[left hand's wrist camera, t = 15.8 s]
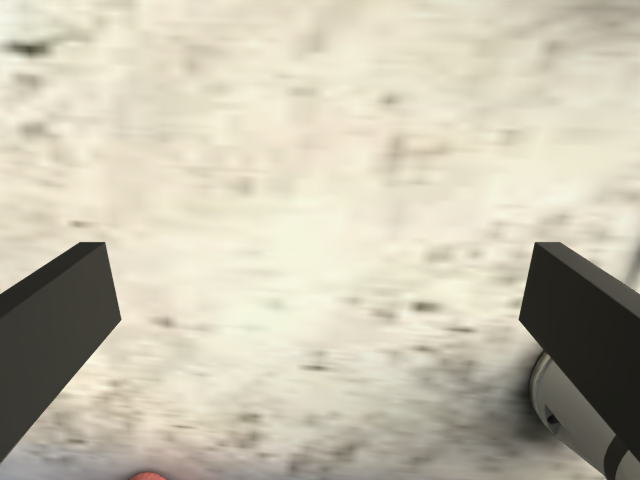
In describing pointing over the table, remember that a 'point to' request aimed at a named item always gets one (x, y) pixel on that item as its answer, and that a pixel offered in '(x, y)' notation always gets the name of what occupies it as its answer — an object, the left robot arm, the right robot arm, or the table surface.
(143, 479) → the plaque
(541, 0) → the table surface
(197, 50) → the table surface
